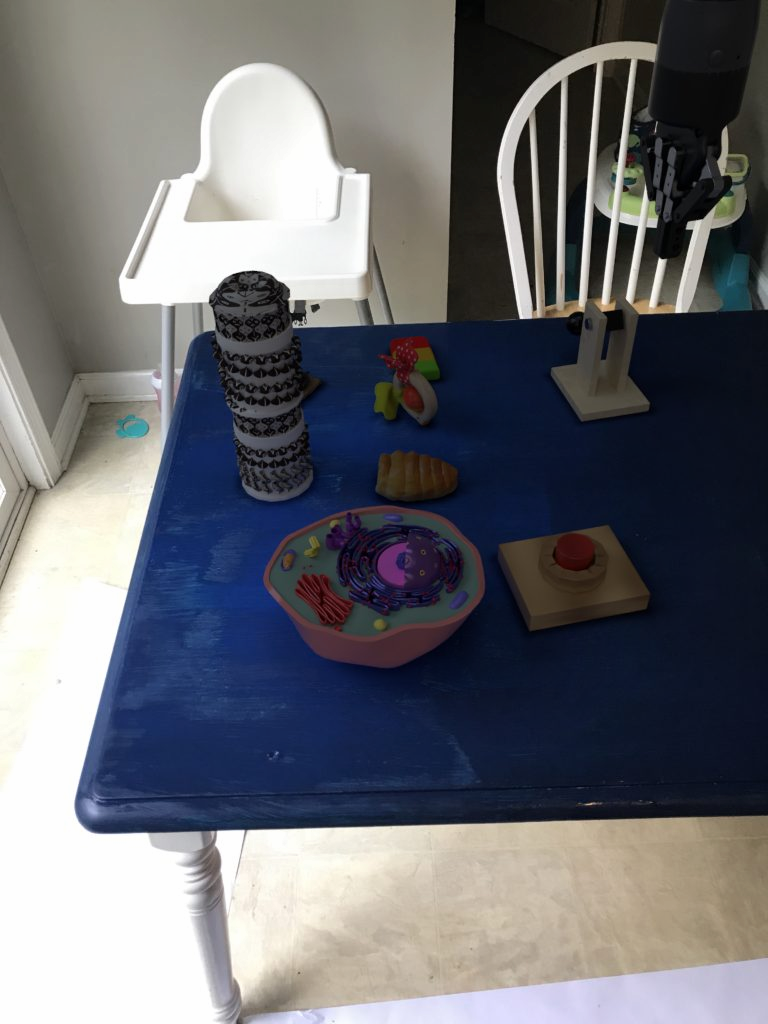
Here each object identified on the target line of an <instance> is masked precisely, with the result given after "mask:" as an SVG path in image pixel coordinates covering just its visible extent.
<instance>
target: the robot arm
mask: <svg viewBox="0 0 768 1024" xmlns="http://www.w3.org/2000/svg"><path fill="white" fill-rule="evenodd" d="M761 9H762V0H666V2H665V5H664V9H663V13H662V16H661V19H660V25H659V29H658V30H659V31H658V36H657V43H656V48H655V49H656V50H655V57H654V62H653V63H654V64H653V69H652V76H651V81H650V87H649V96H648V101H647V113H648V115H649V117H650V118H651V119H652V120H653V121H655V122H656V125H655V131H654V133H652V134H649V135H643V136H640V139H639V149H640V156H641V162H642V169H643V175H644V176H643V177H644V182H645V189H646V196H647V200H648V201H649V202H654V212H655V215H656V216H657V223H656V227H655V233H654V239H653V245H652V252H653V253H654V255H655V256H657V257H658V258H659V259H660V260H662V261H663V260H669V259H675V258H678V257H679V256H680V255H681V253H682V250H683V246H684V243H685V236H686V231H687V226H688V223H689V222H696V221H702V220H704V219H705V218H706V217H707V216H708V215H709V214H710V213H711V211H712V210H713V209H714V208H715V207H716V206H717V205H718V203H719V202H720V201H721V200H722V199H723V198H724V197H725V196H726V195H727V193H729V191H730V190H731V189H732V187H733V177H732V175H730V174H726V175H722V174H721V170H720V167H719V163H718V161H719V159H720V158H721V156H722V152H723V139H722V138H723V131H724V130H725V128H726V127H727V126H728V125H729V124H730V123H733V121H735V120H736V119H737V118H738V116H740V113H741V108H742V105H743V99H744V95H745V91H746V87H747V86H746V85H747V80H748V77H749V72H750V68H751V63H752V59H753V54H754V50H755V46H756V41H757V37H758V32H759V27H760V20H761Z"/></svg>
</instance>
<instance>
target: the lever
mask: <svg viewBox="0 0 768 1024" xmlns="http://www.w3.org/2000/svg"><path fill="white" fill-rule="evenodd" d="M602 312H603V313H604V315H605V316H606V317H607V323H606V330H605V333H607V332H611V331H615V330H622V329H624V325H623V311H622V309H619V310H614V309H612V310H604V311H602ZM583 318H584V311H580V310H576V311H574V312H571V313H570V314H569V315H568V316H567V319H566V322H565V328H566V329H567V331H568V333H569V334H570V335H573V336H577V337H579V336H580V337H581V332H582V325H583Z"/></svg>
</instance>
